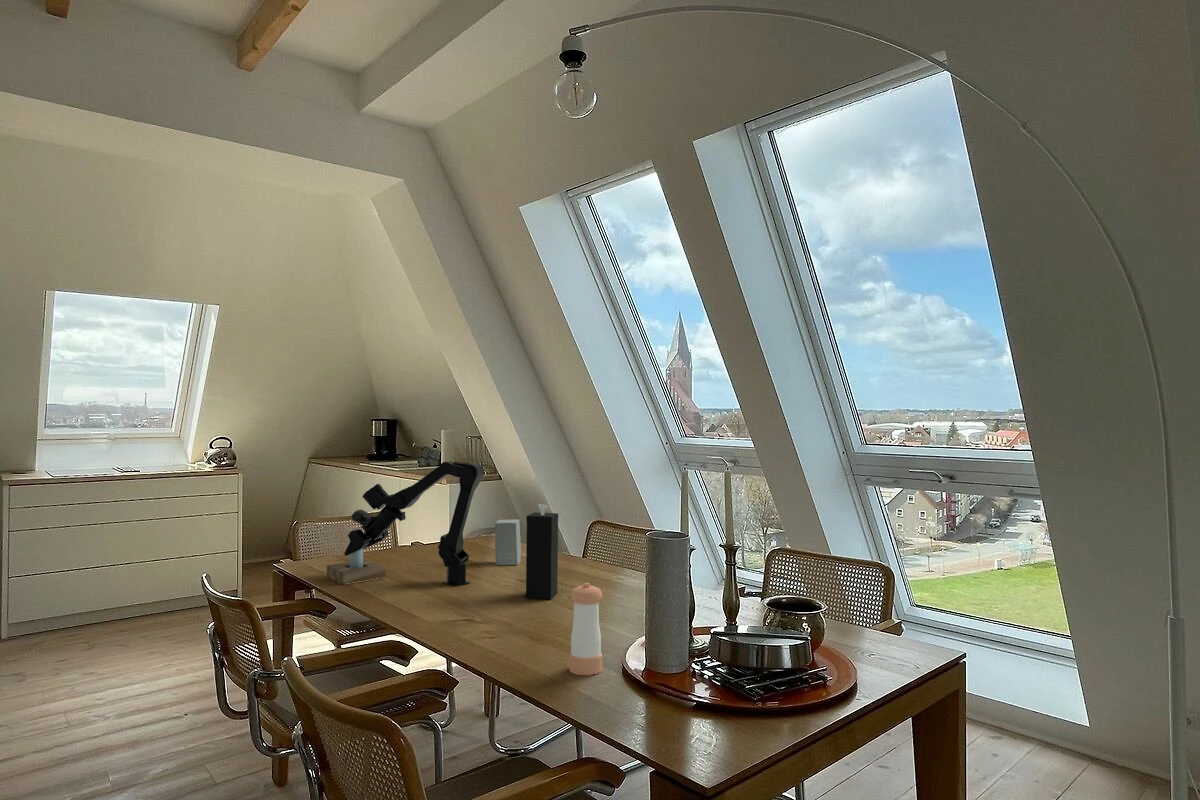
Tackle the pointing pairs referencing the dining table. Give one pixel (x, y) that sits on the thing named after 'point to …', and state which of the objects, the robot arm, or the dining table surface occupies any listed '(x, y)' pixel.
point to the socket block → (355, 572)
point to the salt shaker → (586, 631)
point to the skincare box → (507, 542)
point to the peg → (356, 559)
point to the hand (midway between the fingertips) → (352, 552)
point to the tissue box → (542, 554)
